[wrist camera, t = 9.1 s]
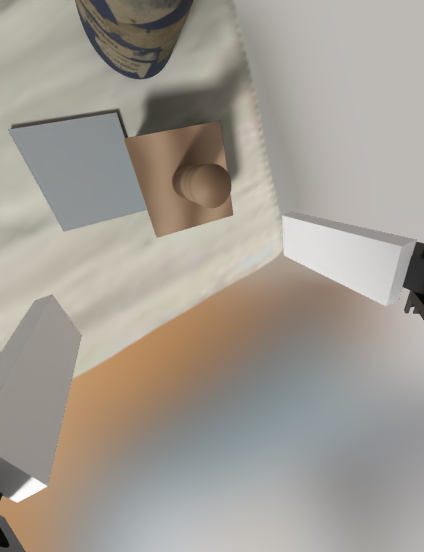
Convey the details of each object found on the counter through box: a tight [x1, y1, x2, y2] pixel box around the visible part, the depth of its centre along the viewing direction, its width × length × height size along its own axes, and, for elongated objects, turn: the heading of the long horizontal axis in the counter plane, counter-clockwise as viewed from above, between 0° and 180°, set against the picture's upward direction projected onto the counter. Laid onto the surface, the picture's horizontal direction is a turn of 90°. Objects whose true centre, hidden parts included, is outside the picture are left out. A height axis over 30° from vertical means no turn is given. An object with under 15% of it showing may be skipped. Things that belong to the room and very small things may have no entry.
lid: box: [124, 121, 233, 237], centre depth 23 cm, size 11×11×10 cm
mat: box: [8, 113, 147, 231], centre depth 28 cm, size 12×12×1 cm
